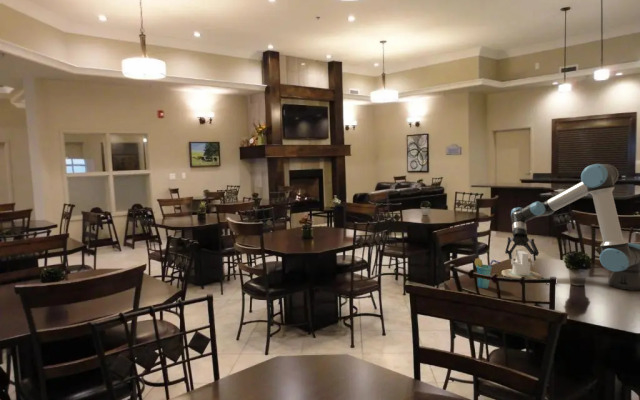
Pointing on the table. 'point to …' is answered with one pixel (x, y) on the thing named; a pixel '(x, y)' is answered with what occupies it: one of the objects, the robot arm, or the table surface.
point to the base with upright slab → (521, 263)
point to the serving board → (509, 274)
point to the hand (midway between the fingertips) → (522, 264)
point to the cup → (483, 272)
